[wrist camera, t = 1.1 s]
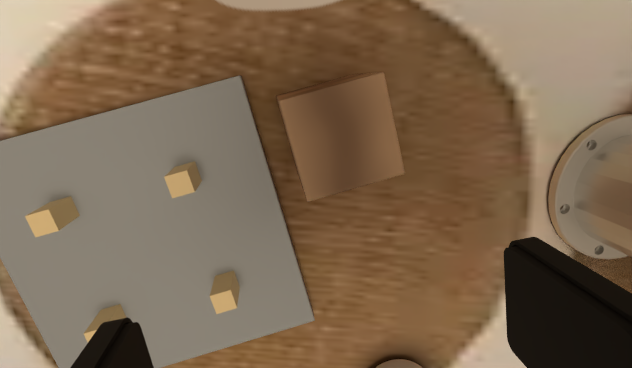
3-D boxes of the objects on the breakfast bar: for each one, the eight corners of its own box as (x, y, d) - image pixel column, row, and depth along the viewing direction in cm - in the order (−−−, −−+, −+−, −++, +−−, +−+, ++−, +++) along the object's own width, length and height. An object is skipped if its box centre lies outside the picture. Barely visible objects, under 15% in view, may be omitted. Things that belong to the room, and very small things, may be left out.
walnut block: (353, 74, 30) (383, 72, 22) (371, 151, 31) (405, 173, 24) (275, 95, 30) (278, 100, 22) (297, 172, 31) (307, 202, 23)
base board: (241, 75, 29) (236, 74, 24) (312, 310, 34) (319, 343, 30) (-38, 151, 28) (-94, 164, 24) (81, 380, 33) (53, 425, 29)
